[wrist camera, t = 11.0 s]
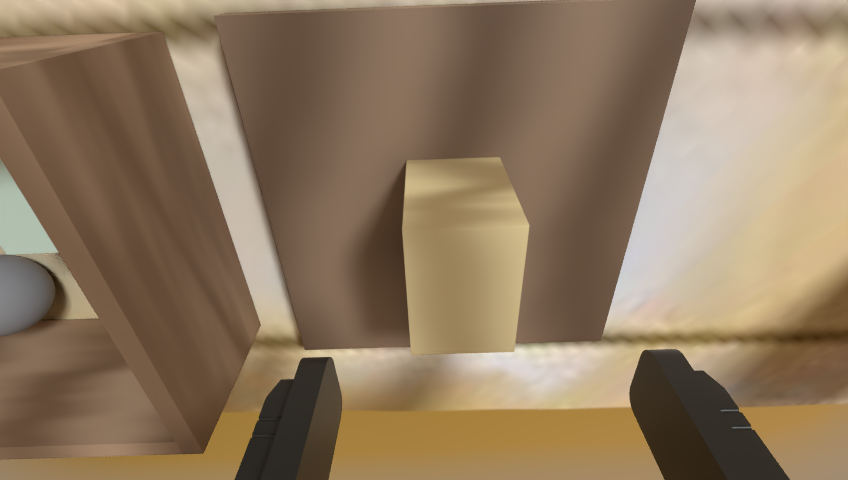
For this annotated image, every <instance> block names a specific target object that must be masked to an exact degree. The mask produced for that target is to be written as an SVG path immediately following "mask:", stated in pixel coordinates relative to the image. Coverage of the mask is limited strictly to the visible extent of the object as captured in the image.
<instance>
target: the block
mask: <svg viewBox="0 0 848 480" xmlns="http://www.w3.org/2000/svg"><path fill="white" fill-rule="evenodd" d="M0 246H1V247H2V249H3V250H4V251H5V253H6V254H7V255H13V254H36V253H58V251H57V249H56V248H55V246H54V244H53V243H52V241H51V240H50V238H49V236H48V235H47V233H46V231H45V230H44V228H43V227H42V225H41V223H40V222H39V220H38V219H37V217H36V215H35V214H34V212H33V210H32V209H31V207H30V206H29V204H28V202H27V201H26V199H25V197H24V196H23V194H22V193H21V191H20V189H19V188H18V186H17V184H16V183H15V181H14V180H13V178H12V176H11V175H10V173H9V172H8V170H7V168H6V167H5V165H4V163H3V162H2V160H1V159H0Z"/></svg>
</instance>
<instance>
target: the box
mask: <svg viewBox="0 0 848 480" xmlns="http://www.w3.org/2000/svg"><path fill="white" fill-rule="evenodd" d="M0 159H1V160H2V162H3V163H4V165H5V167H6V168H7V170H8V172H9V173H10V175H11V176H12V178H13V180H14V181H15V183H16V184H17V186H18V188H19V189H20V191H21V193H22V194H23V196H24V197H25V199H26V201H27V202H28V204H29V206H30V207H31V209H32V210H33V212H34V214H35V215H36V217H37V219H38V220H39V222H40V223H41V225H42V227H43V228H44V230H45V231H46V233H47V235H48V236H49V238H50V240H51V241H52V243H53V244H54V246H55V248H56V249H57V251H58V253H59V254H60V256H61V257H62V259H63V261H64V262H65V264H66V265H67V267H68V269H69V270H70V272H71V274H72V275H73V277H74V278H75V280H76V282H77V283H78V285H79V287H80V288H81V290H82V291H83V293H84V295H85V296H86V298H87V300H88V301H89V303H90V304H91V306H92V308H93V309H94V311H95V312H96V314H97V316H98V317H99V319H77V320H46V321H39V322H37V323H36V324H34V325H33V326H31V327H29V328H28V329H25V330H23V331H21V332H18V333H15V334H11V335H6V336H0V460H1V459H33V458H34V459H35V458H69V457H102V456H134V455H169V454H201V453H204V451H205V449H206V447H207V444H208V442H209V440H210V437H211V435H212V433H213V431H214V429H215V426H216V424H217V422H218V420H219V417H220V415H221V413H222V411H223V408H224V406H225V404H226V402H227V399H228V397H229V395H230V393H231V390H232V388H233V386H234V384H235V381H236V379H237V377H238V375H239V372H240V370H241V368H242V366H243V363H244V361H245V359H246V357H247V354H248V352H249V350H250V348H251V345H252V343H253V341H254V339H255V336H256V334H257V332H258V330H259V328H260V322H259V319H258V316H257V313H256V310H255V307H254V304H253V301H252V298H251V295H250V292H249V289H248V286H247V283H246V280H245V277H244V274H243V271H242V268H241V265H240V262H239V259H238V256H237V253H236V250H235V247H234V244H233V241H232V238H231V235H230V232H229V229H228V226H227V223H226V220H225V217H224V214H223V211H222V208H221V205H220V202H219V199H218V196H217V193H216V190H215V187H214V184H213V181H212V178H211V175H210V172H209V169H208V166H207V163H206V160H205V158H204V155H203V152H202V149H201V146H200V143H199V140H198V137H197V134H196V131H195V128H194V125H193V122H192V119H191V116H190V113H189V110H188V107H187V104H186V101H185V98H184V95H183V92H182V89H181V86H180V83H179V80H178V77H177V74H176V71H175V68H174V65H173V62H172V59H171V56H170V53H169V50H168V47H167V44H166V41H165V38H164V35H163V32H139V33H111V34H83V35H55V36H28V37H0Z"/></svg>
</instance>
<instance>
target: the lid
mask: <svg viewBox="0 0 848 480" xmlns="http://www.w3.org/2000/svg"><path fill="white" fill-rule="evenodd" d="M695 2H696V0H552V1H526V2H500V3H475V4H449V5H423V6H398V7H372V8H346V9H321V10H295V11H269V12H244V13H225V14H220V15H215V16H214V19H215V22H216V26H217V30H218V33H219V37H220V41H221V44H222V48H223V52H224V55H225V59H226V63H227V66H228V70H229V74H230V77H231V81H232V85H233V88H234V92H235V96H236V99H237V103H238V107H239V110H240V114H241V118H242V121H243V125H244V129H245V132H246V136H247V140H248V143H249V147H250V151H251V154H252V158H253V162H254V165H255V169H256V173H257V177H258V180H259V184H260V188H261V191H262V195H263V199H264V202H265V206H266V210H267V213H268V217H269V221H270V224H271V228H272V232H273V235H274V239H275V243H276V246H277V250H278V254H279V257H280V261H281V265H282V268H283V272H284V276H285V279H286V283H287V287H288V290H289V294H290V298H291V301H292V305H293V309H294V312H295V316H296V320H297V323H298V327H299V331H300V334H301V338H302V342H303V345H304V349H305V350H317V349H349V348H381V347H411V355H424V354H456V353H489V352H514V349H515V343H542V342H574V341H601V338H602V334H603V331H604V327H605V324H606V320H607V316H608V313H609V309H610V306H611V302H612V299H613V295H614V291H615V288H616V284H617V281H618V277H619V274H620V270H621V266H622V263H623V259H624V256H625V252H626V249H627V245H628V241H629V238H630V234H631V231H632V227H633V223H634V220H635V216H636V213H637V209H638V206H639V202H640V198H641V195H642V191H643V188H644V184H645V181H646V177H647V173H648V170H649V166H650V163H651V159H652V156H653V152H654V148H655V145H656V141H657V138H658V134H659V131H660V127H661V123H662V120H663V116H664V113H665V109H666V105H667V102H668V98H669V95H670V91H671V88H672V84H673V80H674V77H675V73H676V70H677V66H678V63H679V59H680V55H681V52H682V48H683V45H684V41H685V38H686V34H687V30H688V27H689V23H690V20H691V16H692V13H693V9H694V5H695Z"/></svg>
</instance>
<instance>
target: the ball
mask: <svg viewBox="0 0 848 480" xmlns="http://www.w3.org/2000/svg"><path fill="white" fill-rule="evenodd" d="M54 298H55V286H54V282H53V279H52V278H51V276H50V275H49V273H48V272H47V271H46V270H45V269H44V268H43V267H42V266H40V265H39V264H37V263H36V262H34V261H32V260H29V259H26V258H23V257H20V256H14V255H0V336H6V335H11V334H15V333H18V332H21V331H23V330H25V329H28V328H29V327H31V326H33V325H34V324H36V323H37V322H39V321H40V320H41V319H42V318H43V317H44V316H45V315H46V314H47V313H48V311H49V310H50V308H51V306H52V304H53V302H54Z"/></svg>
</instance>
